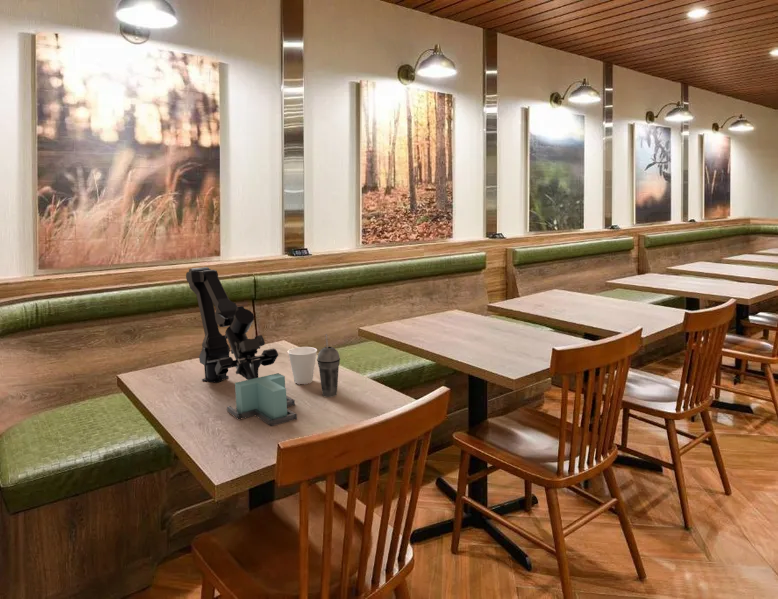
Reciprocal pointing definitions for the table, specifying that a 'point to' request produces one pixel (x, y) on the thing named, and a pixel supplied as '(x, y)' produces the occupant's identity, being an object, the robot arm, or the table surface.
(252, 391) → the t block
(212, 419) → the table surface
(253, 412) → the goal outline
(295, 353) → the cup
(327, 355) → the beverage cup
